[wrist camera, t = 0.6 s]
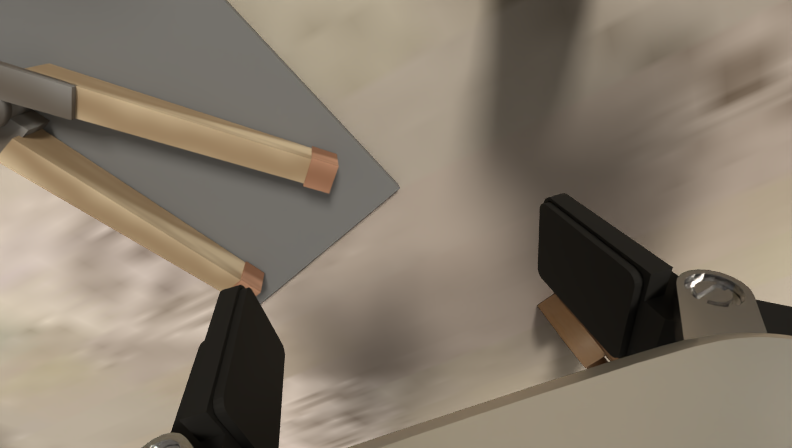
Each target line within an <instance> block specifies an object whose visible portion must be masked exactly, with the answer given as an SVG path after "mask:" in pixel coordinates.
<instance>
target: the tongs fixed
mask: <svg viewBox="0 0 792 448" xmlns="http://www.w3.org/2000/svg"><path fill="white" fill-rule="evenodd" d="M11 105H12V116H11V118H10V120H9V122H8V123H7V124H6V125H4V126H3V127H0V163H1V164H2V165H4V166H6V167H8V168H9V169H11V170H13V171H14V172H16V173H18V174H20V175H21V176H23V177H25V178H27V179H28V180H30V181H32V182H33V183H35V184H37V185H39V186H40V187H42V188H44V189H45V190H47V191H49V192H51V193H52V194H54V195H56V196H57V197H59V198H61V199H63V200H64V201H66V202H68V203H69V204H71V205H73V206H75V207H76V208H78V209H80V210H82V211H83V212H85V213H87V214H88V215H90V216H92V217H94V218H95V219H97V220H99V221H100V222H102V223H104V224H106V225H107V226H109V227H111V228H112V229H114V230H116V231H118V232H119V233H121V234H123V235H124V236H126V237H128V238H130V239H131V240H133V241H135V242H137V243H138V244H140V245H142V246H143V247H145V248H147V249H149V250H150V251H152V252H154V253H155V254H157V255H159V256H161V257H162V258H164V259H166V260H167V261H169V262H171V263H173V264H174V265H176V266H178V267H180V268H181V269H183V270H185V271H186V272H188V273H190V274H192V275H193V276H195V277H197V278H198V279H200V280H202V281H204V282H205V283H207V284H209V285H210V286H212V287H214V288H216V289H217V290H219V291H222V290H224V289H227V288H231V287H234V286H238V285H243V286H244V287H245V288H248V287H250V288H251V289H252V290H253V292H254V294H255V296H257V295H258V294H259V293H260V292H261V288H262V283H263V278H264V272H262V271H261V270H259V269H258V268H256V267H255V266H253V265H252V264H250V263H249V262H247V261H246V262H244V261H243V260H241V259H240V258H238V257H236V256H235V255H233V254H232V253H230V252H229V251H227V250H226V249H224V248H223V247H221V246H220V245H218V244H217V243H215V242H214V241H212V240H211V239H209V238H208V237H206V236H204V235H203V234H201V233H200V232H198V231H197V230H195V229H194V228H192V227H191V226H189V225H188V224H186V223H185V222H183V221H182V220H180V219H179V218H177V217H176V216H174V215H172V214H171V213H169V212H168V211H166V210H165V209H163V208H162V207H160V206H159V205H157V204H156V203H154V202H153V201H151V200H150V199H148V198H147V197H145V196H144V195H142V194H141V193H139V192H137V191H136V190H134V189H133V188H131V187H130V186H128V185H127V184H125V183H124V182H122V181H121V180H119V179H118V178H116V177H115V176H113V175H112V174H110V173H109V172H107V171H105V170H104V169H102V168H101V167H99V166H98V165H96V164H95V163H93V162H92V161H90V160H89V159H87V158H86V157H84V156H83V155H81V154H80V153H78V152H77V151H75V150H73V149H72V148H70V147H69V146H67V145H66V144H64V143H63V142H61V141H60V140H58V139H57V138H55V137H54V136H52V135H51V134H49V133H48V132H46V131H45V130H43V129H44V128H45V126H46V125H47V124H48V123H49V122H50V121H49V120H48V119H46V118H45V117H43V116H42V115H40V114H39V113H37V112H36V111H34V110H33V109H30V108H26V107H23V106H19V105H16V104H12V103H11Z"/></svg>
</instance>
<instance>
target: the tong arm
mask: <svg viewBox="0 0 792 448" xmlns="http://www.w3.org/2000/svg"><path fill="white" fill-rule="evenodd" d="M11 103H12V104H16V105H19V106H23V107H26V108H30V109H33V110H37V111H41V112H44V113H48V114H51V115H55V116H58V117H62V118H65V119H69V120H73V119H75V118H76V119H79V120H83V121H86V122H90V123H93V124H97V125H100V126H104V127H107V128H111V129H114V130H118V131H121V132H125V133H128V134H132V135H135V136H139V137H143V138H146V139H150V140H153V141H157V142H160V143H164V144H167V145H171V146H174V147H178V148H181V149H185V150H188V151H192V152H195V153H199V154H202V155H206V156H209V157H213V158H216V159H220V160H223V161H227V162H230V163H234V164H237V165H241V166H244V167H248V168H251V169H255V170H258V171H262V172H266V173H269V174H273V175H276V176H280V177H283V178H287V179H290V180H294V181H297V182H301V183H303V186H304V187H308V188H311V189H315V190H318V191H322V192H325V193H329V192H330V190H331V187H332V184H333V181H334V178H335V175H336V173H337V170H338V167H339V165H338V159H337V154H335V153H332V152H329V151H326V150H323V149H320V148H317V147H314V146H312V148H310V147H307V146H304V145H301V144H298V143H295V142H291V141H288V140H285V139H282V138H279V137H276V136H273V135H270V134H267V133H264V132H261V131H257V130H254V129H251V128H248V127H245V126H242V125H239V124H236V123H233V122H230V121H226V120H223V119H220V118H217V117H214V116H211V115H208V114H205V113H202V112H199V111H195V110H192V109H189V108H186V107H183V106H180V105H177V104H174V103H171V102H168V101H164V100H161V99H158V98H155V97H152V96H149V95H146V94H143V93H140V92H137V91H133V90H130V89H127V88H124V87H121V86H118V85H115V84H112V83H109V82H106V81H102V80H99V79H96V78H93V77H90V76H87V75H84V74H81V73H78V72H75V71H71V70H68V69H65V68H62V67H59V66H56V65H53V64H50V63H48V64H43V65H39V66H34V67H29V68H21V67H18V66H15V65H12V64H8V63H5V62H2V61H0V127H3V126H4V125H6V124H7V123H8V122H9V120H10V118H11V116H12V105H11Z"/></svg>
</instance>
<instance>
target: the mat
mask: <svg viewBox="0 0 792 448" xmlns="http://www.w3.org/2000/svg"><path fill="white" fill-rule="evenodd" d="M0 61H2V62H5V63H8V64H12V65H15V66H18V67H21V68H29V67H34V66H39V65H43V64H48V63H50V64H53V65H56V66H59V67H62V68H65V69H68V70H71V71H75V72H78V73H81V74H84V75H87V76H90V77H93V78H96V79H99V80H102V81H106V82H109V83H112V84H115V85H118V86H121V87H124V88H127V89H130V90H133V91H137V92H140V93H143V94H146V95H149V96H152V97H155V98H158V99H161V100H164V101H168V102H171V103H174V104H177V105H180V106H183V107H186V108H189V109H192V110H195V111H199V112H202V113H205V114H208V115H211V116H214V117H217V118H220V119H223V120H226V121H230V122H233V123H236V124H239V125H242V126H245V127H248V128H251V129H254V130H257V131H261V132H264V133H267V134H270V135H273V136H276V137H279V138H282V139H285V140H288V141H291V142H295V143H298V144H301V145H304V146H307V147H310V148H312V146H314V147H317V148H320V149H323V150H326V151H329V152H332V153H335V154H337V159H338V165H339V167H338V170H337V173H336V175H335V178H334V181H333V184H332V187H331V190H330V192H329V193H325V192H322V191H318V190H315V189H311V188H308V187H304V186H303V183H301V182H297V181H294V180H290V179H287V178H283V177H280V176H276V175H273V174H269V173H266V172H262V171H258V170H255V169H251V168H248V167H244V166H241V165H237V164H234V163H230V162H227V161H223V160H220V159H216V158H213V157H209V156H206V155H202V154H199V153H195V152H192V151H188V150H185V149H181V148H178V147H174V146H171V145H167V144H164V143H160V142H157V141H153V140H150V139H146V138H143V137H139V136H135V135H132V134H128V133H125V132H121V131H118V130H114V129H111V128H107V127H104V126H100V125H97V124H93V123H90V122H86V121H83V120H79V119H76V118H75V119H73V120H69V119H65V118H62V117H58V116H55V115H51V114H48V113H44V112H41V111H37V110H34V111H36V112H37V113H39V114H40V115H42V116H43V117H45V118H46V119H48V120H49V121H50V122H49V123H48V124H47V125H46V126H45V128H44V129H43V130H45V131H46V132H48V133H49V134H51V135H52V136H54V137H55V138H57V139H58V140H60V141H61V142H63V143H64V144H66V145H67V146H69V147H70V148H72V149H73V150H75V151H77V152H78V153H80V154H81V155H83V156H84V157H86V158H87V159H89V160H90V161H92V162H93V163H95V164H96V165H98V166H99V167H101V168H102V169H104V170H105V171H107V172H109V173H110V174H112V175H113V176H115V177H116V178H118V179H119V180H121V181H122V182H124V183H125V184H127V185H128V186H130V187H131V188H133V189H134V190H136V191H137V192H139V193H141V194H142V195H144V196H145V197H147V198H148V199H150V200H151V201H153V202H154V203H156V204H157V205H159V206H160V207H162V208H163V209H165V210H166V211H168V212H169V213H171V214H172V215H174V216H176V217H177V218H179V219H180V220H182V221H183V222H185V223H186V224H188V225H189V226H191V227H192V228H194V229H195V230H197V231H198V232H200V233H201V234H203V235H204V236H206V237H208V238H209V239H211V240H212V241H214V242H215V243H217V244H218V245H220V246H221V247H223V248H224V249H226V250H227V251H229V252H230V253H232V254H233V255H235V256H236V257H238V258H240V259H241V260H243V261H244V262H246V261H247V262H249V263H250V264H252V265H253V266H255V267H256V268H258V269H259V270H261V271H262V272H264V278H263V283H262V288H261V292H260V293H259V294H258V295H257V296H256V298H257V299H258V301H259V303H260V304H261V303H262V302H263V301H264V300H266V299H267V298H268V297H269V296H270V295H272V294H273V293H274V292H275V291H276V290H278V289H279V288H280V287H281V286H282V285H284V284H285V283H286V282H287V281H289V280H290V279H291V278H292V277H293V276H295V275H296V274H297V273H298V272H299V271H301V270H302V269H303V268H304V267H305V266H307V265H308V264H309V263H310V262H311V261H313V260H314V259H315V258H316V257H317V256H319V255H320V254H321V253H322V252H323V251H325V250H326V249H327V248H328V247H330V246H331V245H332V244H333V243H334V242H336V241H337V240H338V239H339V238H340V237H342V236H343V235H344V234H345V233H346V232H348V231H349V230H350V229H351V228H352V227H354V226H355V225H356V224H357V223H358V222H360V221H361V220H362V219H363V218H364V217H366V216H367V215H368V214H369V213H371V212H372V211H373V210H374V209H375V208H377V207H378V206H379V205H380V204H381V203H383V202H384V201H385V200H386V199H387V198H389V197H390V196H391V195H392V194H393V193H395V192H396V191H397V190H398V189H399V188H400V187H399V185H398V184H397V183H396V182H395V180H394V179H393V178H392V177H391V176H390V175H389V174H388V173H387V172H386V171H385V170H384V169H383V168H382V167H381V165H380V164H379V163H378V162H377V161H376V160H375V159H374V158H373V157H372V156H371V155H370V154H369V153H368V151H367V150H366V149H365V148H364V147H363V146H362V145H361V144H360V143H359V142H358V141H357V140H356V139H355V138H354V136H353V135H352V134H351V133H350V132H349V131H348V130H347V129H346V128H345V127H344V126H343V125H342V124H341V123H340V121H339V120H338V119H337V118H336V117H335V116H334V115H333V114H332V113H331V112H330V111H329V110H328V109H327V107H326V106H325V105H324V104H323V103H322V102H321V101H320V100H319V99H318V98H317V97H316V96H315V95H314V94H313V92H312V91H311V90H310V89H309V88H308V87H307V86H306V85H305V84H304V83H303V82H302V81H301V80H300V79H299V77H298V76H297V75H296V74H295V73H294V72H293V71H292V70H291V69H290V68H289V67H288V66H287V65H286V63H285V62H284V61H283V60H282V59H281V58H280V57H279V56H278V55H277V54H276V53H275V52H274V51H273V50H272V48H271V47H270V46H269V45H268V44H267V43H266V42H265V41H264V40H263V39H262V38H261V37H260V36H259V35H258V33H257V32H256V31H255V30H254V29H253V28H252V27H251V26H250V25H249V24H248V23H247V22H246V21H245V20H244V18H243V17H242V16H241V15H240V14H239V13H238V12H237V11H236V10H235V9H234V8H233V7H232V6H231V4H230V3H229V2H228V1H227V0H0Z"/></svg>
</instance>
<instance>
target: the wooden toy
mask: <svg viewBox="0 0 792 448" xmlns="http://www.w3.org/2000/svg"><path fill="white" fill-rule="evenodd" d="M537 306H538V307H539V309H540V310H541V311H542V313H543V314H544V315H545V317H546V318H547V319H548V321H549V322H550V323H551V325H552V326H553V327H554V329H555V330H556V331H557V333H558V334H559V335H560V337H561V338H562V339H563V341H564V342H565V343H566V345H567V346H568V347H569V348H570V350H571V351H572V352H573V354H574V355H575V356H576V357H577V358H578V360H579V361H580V362H581V363H582V365H583V366H584V367H585V368H587V369H589V368H592V367H595V366H598V365H601V364H604V363H607V362H608V361H607V360H606V359H605V357H604V356H606V357H607V358H608V359H609V360H610V361H614V360H617V359H619V358H614V357H612V356H611V355H610V354H609V353H608V352H607V351H606V350H605V349H604V348H603V347H602V346H601V344H600V343H599V342H598V341H597V340H596V339H595V338H594V337H593V335H592V334H591V333H590V332H589V331H588V330H587V329H586V328H585V326H584V325H583V324H582V323H581V322H580V321H579V320H578V319H577V317H576V316H575V315H574V314H573V313H572V312H571V311H570V310H569V308H568V307H567V306H566V305H565V304H564V303H563V302H562V301H561V299H560V298H559V297H558V296H557V295H556V294H553V295H552V296H550V297H549V298H547V299H546V300H544V301H543V302H542V303H540V304H539V305H537Z"/></svg>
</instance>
